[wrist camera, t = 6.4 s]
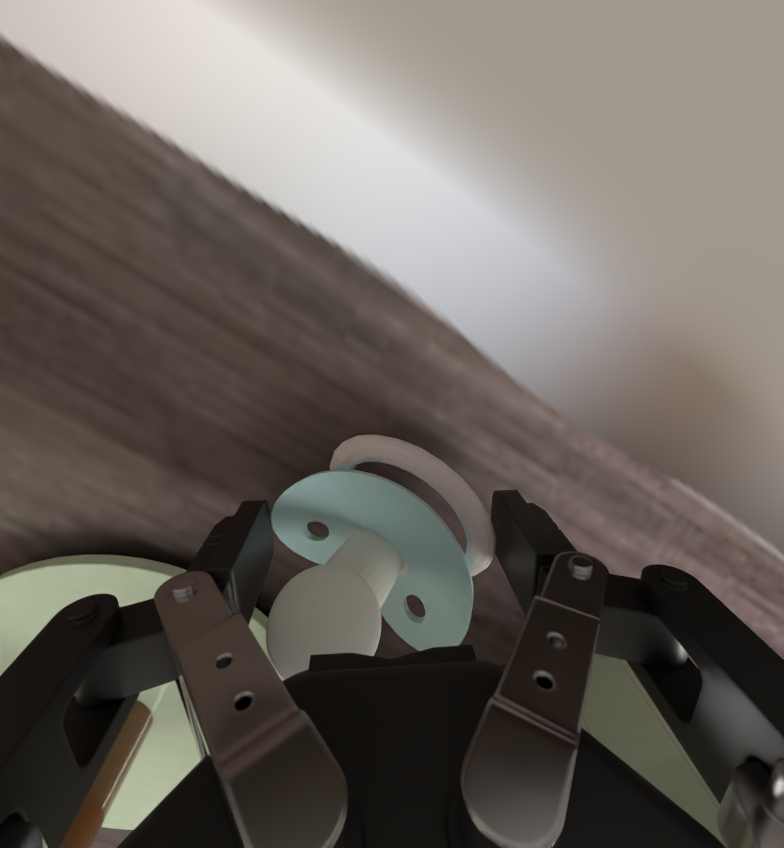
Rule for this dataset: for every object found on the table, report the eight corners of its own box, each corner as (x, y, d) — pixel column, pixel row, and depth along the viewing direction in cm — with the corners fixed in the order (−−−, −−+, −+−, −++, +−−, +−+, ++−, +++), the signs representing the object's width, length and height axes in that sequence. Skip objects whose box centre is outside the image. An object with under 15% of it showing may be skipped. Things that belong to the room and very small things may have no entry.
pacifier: (360, 392, 14) (292, 511, 16) (234, 448, 8) (158, 618, 11) (541, 522, 13) (440, 629, 15) (537, 687, 7) (379, 815, 10)
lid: (15, 810, 20) (-129, 1021, 15) (-112, 551, 15) (-408, 714, 10) (323, 791, 21) (304, 987, 15) (297, 536, 16) (253, 680, 10)
